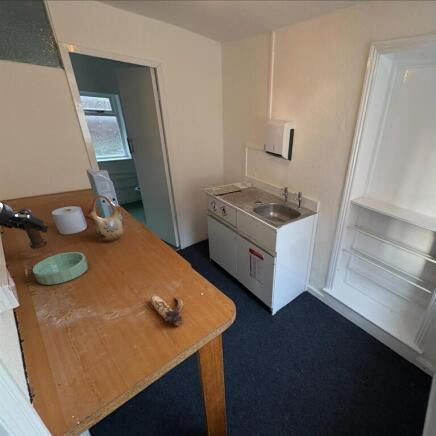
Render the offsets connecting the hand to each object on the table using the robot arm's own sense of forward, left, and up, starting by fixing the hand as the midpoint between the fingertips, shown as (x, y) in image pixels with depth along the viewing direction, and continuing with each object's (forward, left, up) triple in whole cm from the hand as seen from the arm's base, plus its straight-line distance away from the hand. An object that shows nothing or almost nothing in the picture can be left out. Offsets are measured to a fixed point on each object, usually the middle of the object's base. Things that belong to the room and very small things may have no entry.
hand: (40, 229), depth 102 cm
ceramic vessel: (+20, +12, -14) cm, 27 cm away
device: (+10, +39, -14) cm, 42 cm away
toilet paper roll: (-4, +27, -14) cm, 31 cm away
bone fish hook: (+58, -45, -14) cm, 75 cm away
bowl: (+12, -15, -14) cm, 24 cm away
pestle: (0, -4, -6) cm, 7 cm away
